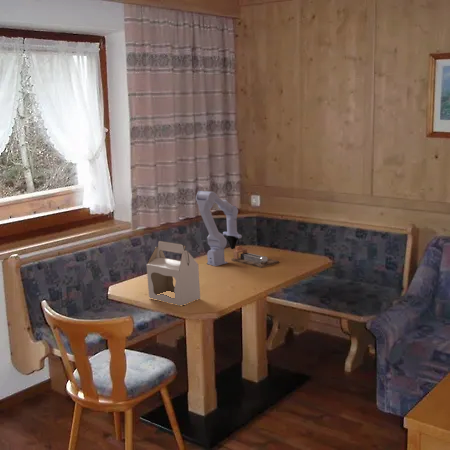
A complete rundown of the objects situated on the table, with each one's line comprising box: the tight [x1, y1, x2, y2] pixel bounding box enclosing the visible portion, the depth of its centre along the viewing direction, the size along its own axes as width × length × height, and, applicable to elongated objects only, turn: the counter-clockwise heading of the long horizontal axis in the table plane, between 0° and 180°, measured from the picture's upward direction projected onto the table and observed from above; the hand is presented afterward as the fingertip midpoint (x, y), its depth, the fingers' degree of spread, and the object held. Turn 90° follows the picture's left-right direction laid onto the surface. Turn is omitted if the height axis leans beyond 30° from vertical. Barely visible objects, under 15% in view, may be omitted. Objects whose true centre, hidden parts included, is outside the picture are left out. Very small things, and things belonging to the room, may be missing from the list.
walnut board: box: [231, 255, 280, 269], centre depth 372 cm, size 25×14×1 cm, turn 40°
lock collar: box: [233, 245, 248, 259], centre depth 378 cm, size 3×8×6 cm, turn 130°
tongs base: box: [239, 252, 268, 264], centre depth 369 cm, size 19×4×4 cm, turn 40°
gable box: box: [146, 240, 201, 305], centre depth 309 cm, size 22×13×28 cm, turn 50°
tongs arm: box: [244, 251, 263, 257], centre depth 371 cm, size 14×2×3 cm, turn 41°
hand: (232, 248), depth 382 cm, fingers closed
